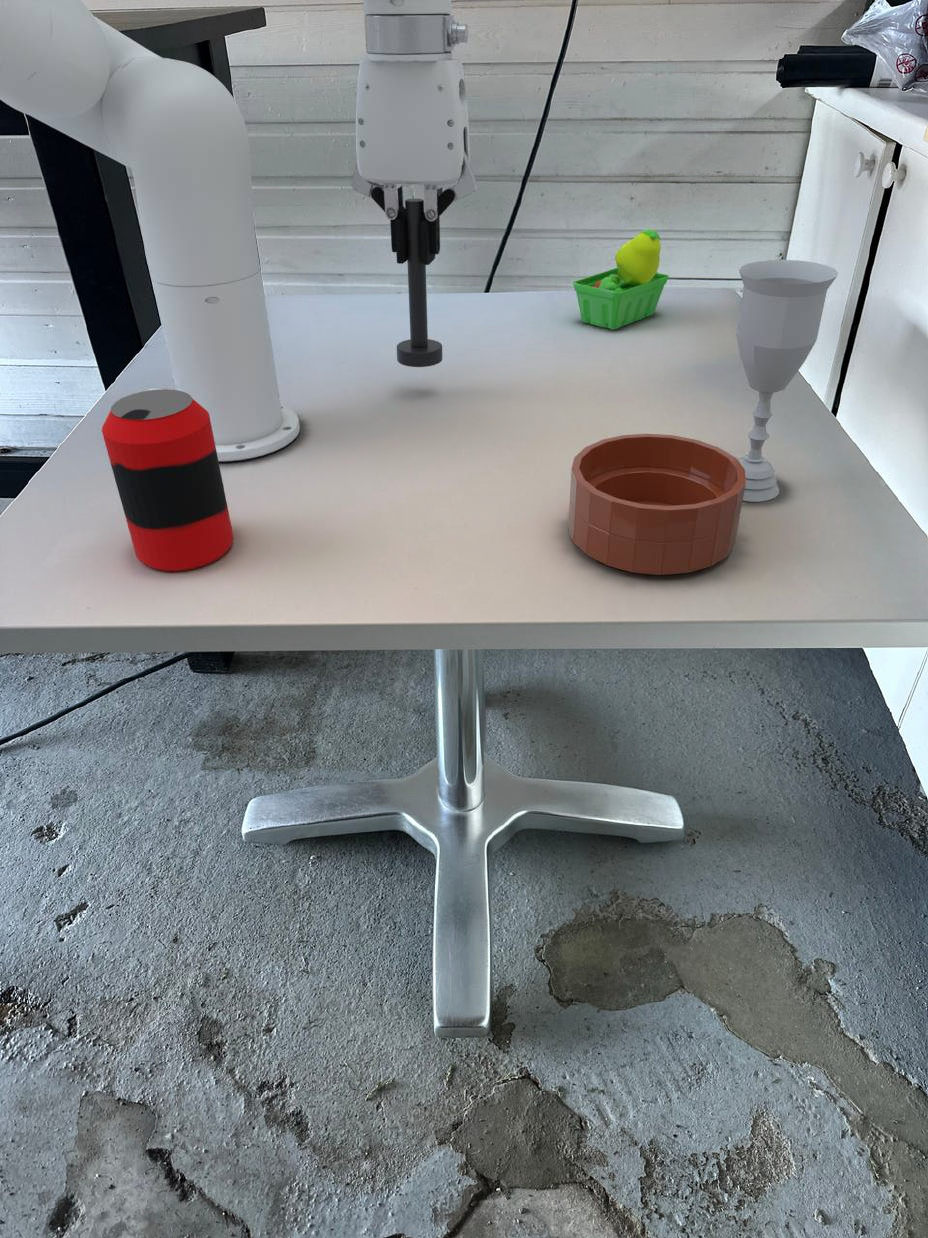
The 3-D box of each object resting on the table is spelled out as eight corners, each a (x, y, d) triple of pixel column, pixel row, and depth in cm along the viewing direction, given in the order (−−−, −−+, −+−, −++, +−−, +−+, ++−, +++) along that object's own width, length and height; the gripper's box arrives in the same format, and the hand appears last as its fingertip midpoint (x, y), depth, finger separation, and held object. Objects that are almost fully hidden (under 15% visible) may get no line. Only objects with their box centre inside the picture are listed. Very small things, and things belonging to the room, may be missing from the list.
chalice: (740, 514, 73) (781, 288, 63) (690, 481, 78) (719, 267, 68) (809, 494, 76) (859, 275, 65) (756, 464, 81) (794, 255, 70)
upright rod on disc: (391, 365, 93) (383, 203, 84) (403, 350, 96) (397, 194, 88) (436, 368, 92) (432, 205, 83) (447, 353, 96) (444, 196, 87)
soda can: (117, 567, 69) (74, 420, 62) (166, 520, 75) (132, 381, 68) (207, 578, 67) (174, 428, 60) (249, 529, 73) (223, 388, 66)
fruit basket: (620, 303, 122) (627, 214, 115) (675, 315, 117) (686, 223, 110) (567, 322, 115) (572, 229, 109) (624, 337, 110) (632, 240, 104)
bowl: (559, 572, 67) (562, 501, 63) (577, 494, 77) (581, 428, 73) (735, 589, 64) (749, 516, 61) (730, 506, 74) (742, 439, 71)
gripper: (505, 38, 79) (501, 255, 90) (336, 38, 82) (352, 249, 93) (489, 41, 73) (487, 274, 84) (308, 41, 76) (328, 266, 87)
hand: (416, 259), depth 88 cm, fingers closed on upright rod on disc
